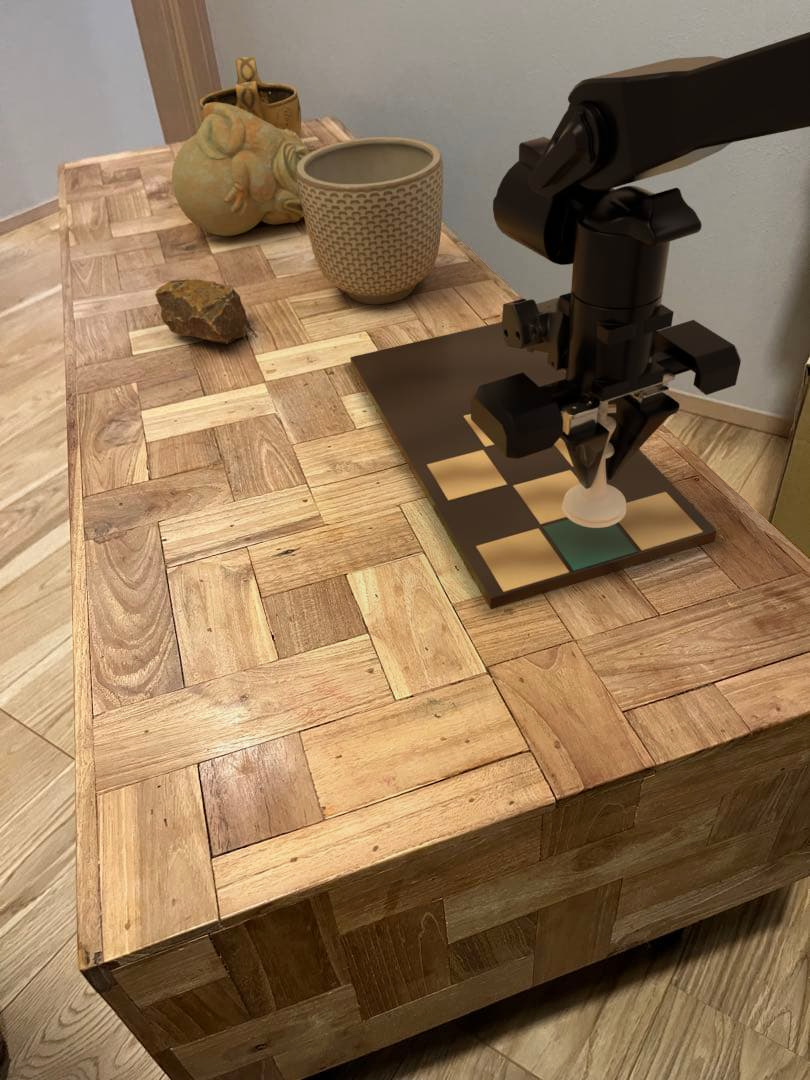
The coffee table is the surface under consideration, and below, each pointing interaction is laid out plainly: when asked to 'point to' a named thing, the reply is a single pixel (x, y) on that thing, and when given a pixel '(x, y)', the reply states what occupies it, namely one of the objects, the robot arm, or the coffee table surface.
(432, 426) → the game board
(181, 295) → the rock
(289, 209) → the sculpture
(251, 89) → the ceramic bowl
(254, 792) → the coffee table surface
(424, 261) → the planter
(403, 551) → the coffee table surface
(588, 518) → the chess piece
